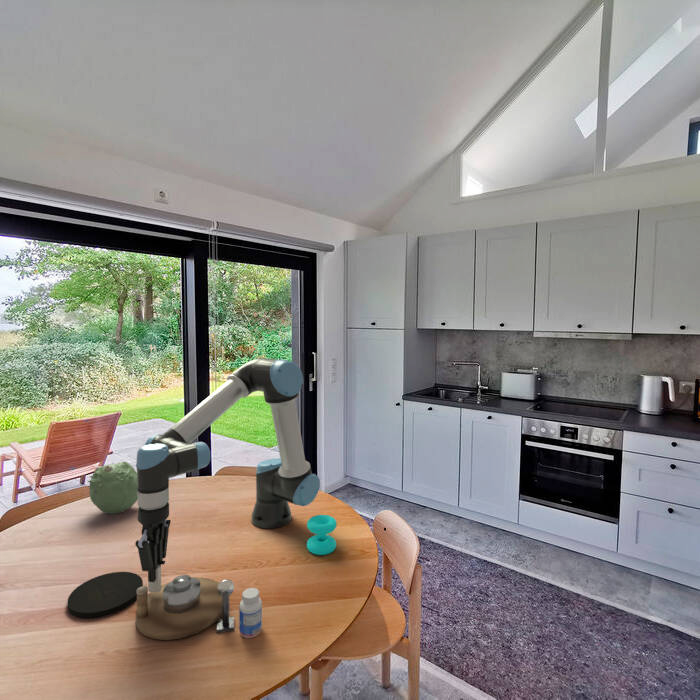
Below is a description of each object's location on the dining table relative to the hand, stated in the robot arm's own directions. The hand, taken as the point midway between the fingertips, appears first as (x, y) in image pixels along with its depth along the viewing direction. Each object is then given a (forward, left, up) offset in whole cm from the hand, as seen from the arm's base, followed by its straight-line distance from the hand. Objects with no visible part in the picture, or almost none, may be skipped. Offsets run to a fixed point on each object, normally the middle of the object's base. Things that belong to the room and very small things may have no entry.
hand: (154, 590), depth 112 cm
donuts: (-49, -19, -4) cm, 52 cm away
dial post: (-19, +12, -4) cm, 23 cm away
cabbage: (+25, -63, -4) cm, 68 cm away
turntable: (-8, +4, -4) cm, 10 cm away
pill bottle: (-25, +15, -4) cm, 29 cm away
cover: (-7, +4, -2) cm, 9 cm away
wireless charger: (+13, -7, -5) cm, 16 cm away
